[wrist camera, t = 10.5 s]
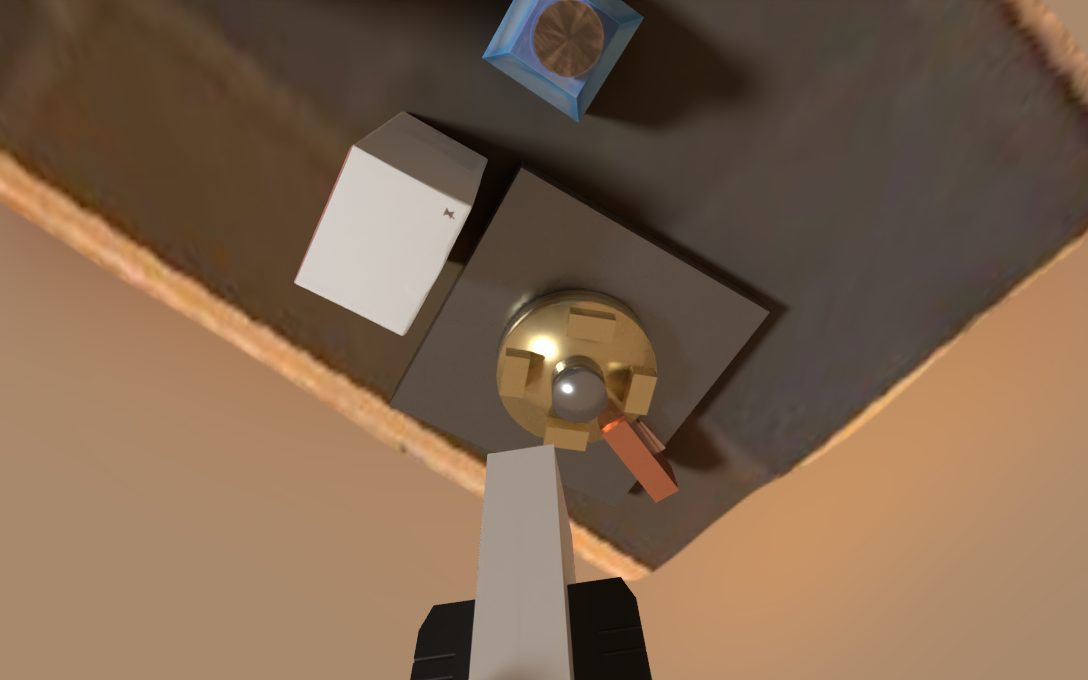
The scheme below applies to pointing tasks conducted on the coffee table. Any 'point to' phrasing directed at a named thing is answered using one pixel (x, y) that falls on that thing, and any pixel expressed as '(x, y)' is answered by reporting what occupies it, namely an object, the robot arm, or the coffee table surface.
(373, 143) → the small box
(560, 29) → the perfume bottle
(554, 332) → the gold tabbed disc
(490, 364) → the flange plate
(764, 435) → the coffee table surface
